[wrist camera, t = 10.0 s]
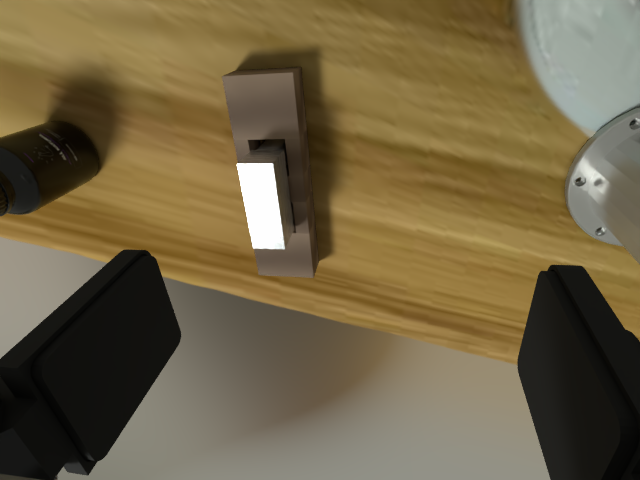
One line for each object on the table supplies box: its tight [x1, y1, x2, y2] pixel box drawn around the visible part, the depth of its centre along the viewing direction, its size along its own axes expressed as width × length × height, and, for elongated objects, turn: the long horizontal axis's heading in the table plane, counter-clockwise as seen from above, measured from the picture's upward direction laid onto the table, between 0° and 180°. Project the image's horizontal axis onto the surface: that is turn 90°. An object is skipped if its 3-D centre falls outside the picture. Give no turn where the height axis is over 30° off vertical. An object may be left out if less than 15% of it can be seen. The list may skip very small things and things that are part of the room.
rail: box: [222, 67, 319, 278], centre depth 38 cm, size 20×6×3 cm, turn 4°
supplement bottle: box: [0, 121, 99, 216], centre depth 37 cm, size 7×7×12 cm
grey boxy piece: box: [237, 139, 294, 249], centre depth 37 cm, size 8×3×7 cm, turn 5°
